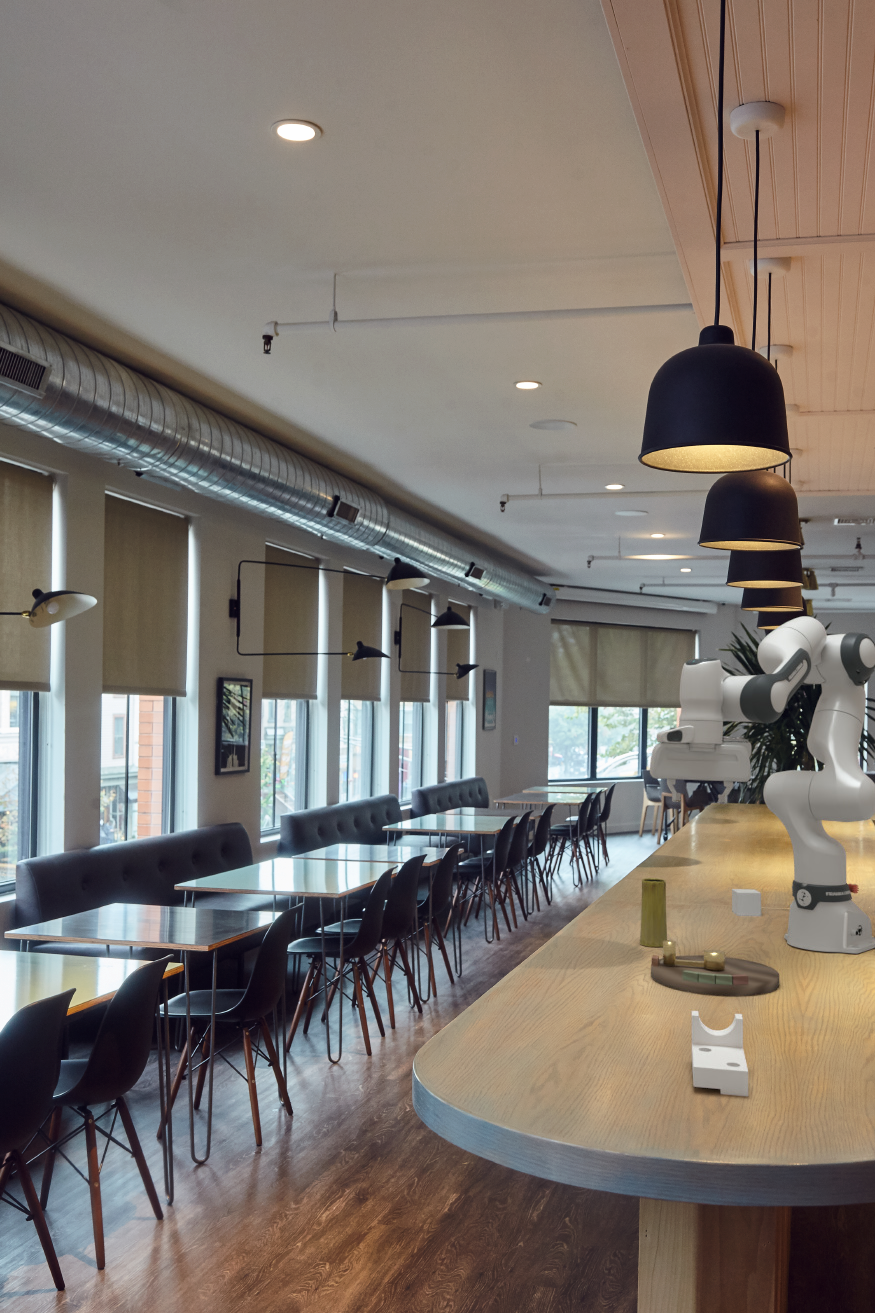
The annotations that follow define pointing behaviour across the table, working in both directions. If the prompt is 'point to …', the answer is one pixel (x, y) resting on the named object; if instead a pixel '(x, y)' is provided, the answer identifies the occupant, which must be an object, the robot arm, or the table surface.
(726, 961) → the dial base
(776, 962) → the table surface
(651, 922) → the vase
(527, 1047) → the table surface
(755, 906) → the light grey cube
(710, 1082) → the bracket
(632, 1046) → the table surface
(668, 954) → the brass dumbbell
